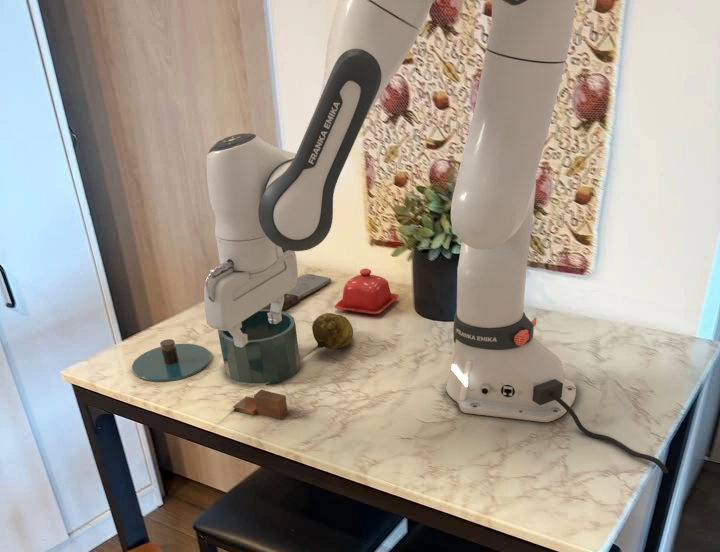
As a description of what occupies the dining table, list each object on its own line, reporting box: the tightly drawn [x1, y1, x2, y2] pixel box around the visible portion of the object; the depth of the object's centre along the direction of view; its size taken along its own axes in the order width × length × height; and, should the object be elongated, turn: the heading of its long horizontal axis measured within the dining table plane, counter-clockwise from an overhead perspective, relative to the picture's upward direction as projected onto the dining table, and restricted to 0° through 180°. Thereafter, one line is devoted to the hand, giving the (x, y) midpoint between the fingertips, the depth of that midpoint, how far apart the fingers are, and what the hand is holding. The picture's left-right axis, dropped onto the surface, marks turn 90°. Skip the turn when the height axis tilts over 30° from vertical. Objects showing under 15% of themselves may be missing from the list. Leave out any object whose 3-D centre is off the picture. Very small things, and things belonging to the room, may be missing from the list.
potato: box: [311, 312, 354, 350], centre depth 150 cm, size 8×13×8 cm, turn 149°
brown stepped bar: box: [232, 389, 289, 420], centre depth 132 cm, size 10×4×4 cm, turn 60°
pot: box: [217, 309, 301, 386], centre depth 144 cm, size 14×15×9 cm
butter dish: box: [334, 268, 400, 315], centre depth 165 cm, size 12×12×8 cm
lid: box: [131, 338, 212, 383], centre depth 148 cm, size 15×15×5 cm
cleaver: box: [261, 273, 332, 311], centre depth 173 cm, size 30×10×2 cm, turn 147°
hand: (258, 333), depth 124 cm, fingers open, 8 cm apart
